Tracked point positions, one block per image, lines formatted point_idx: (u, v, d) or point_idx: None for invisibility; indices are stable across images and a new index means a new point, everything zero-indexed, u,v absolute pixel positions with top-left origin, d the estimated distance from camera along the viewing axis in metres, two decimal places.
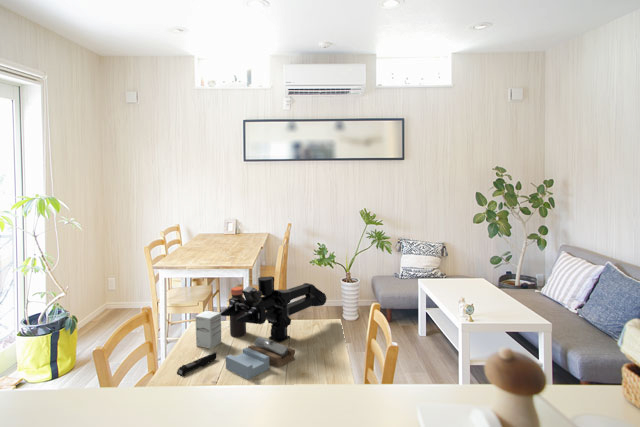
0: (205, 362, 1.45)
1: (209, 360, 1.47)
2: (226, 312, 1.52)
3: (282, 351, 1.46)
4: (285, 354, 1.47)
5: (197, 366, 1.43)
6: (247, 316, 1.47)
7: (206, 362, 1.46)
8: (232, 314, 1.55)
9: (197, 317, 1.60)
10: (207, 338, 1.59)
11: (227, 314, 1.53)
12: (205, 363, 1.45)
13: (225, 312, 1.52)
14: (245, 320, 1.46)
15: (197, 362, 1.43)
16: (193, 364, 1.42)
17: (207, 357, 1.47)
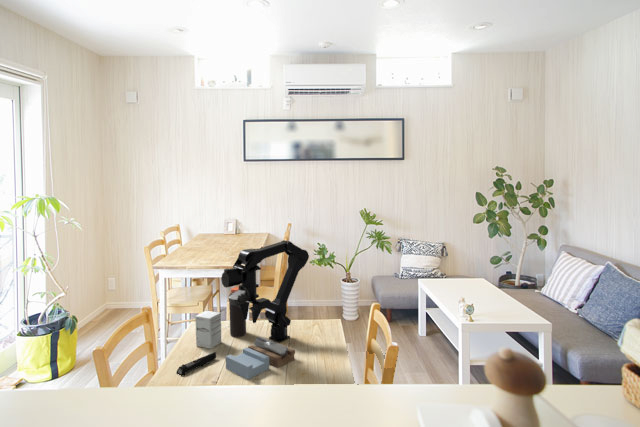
0: (204, 362, 1.45)
1: (209, 360, 1.47)
2: (245, 314, 1.60)
3: (282, 351, 1.46)
4: (285, 354, 1.47)
5: (197, 366, 1.43)
6: (255, 314, 1.55)
7: (206, 362, 1.46)
8: (248, 304, 1.61)
9: (197, 317, 1.60)
10: (207, 338, 1.59)
11: (246, 312, 1.60)
12: (205, 363, 1.45)
13: (244, 315, 1.59)
14: (257, 315, 1.56)
15: (197, 362, 1.44)
16: (193, 364, 1.42)
17: (207, 357, 1.47)
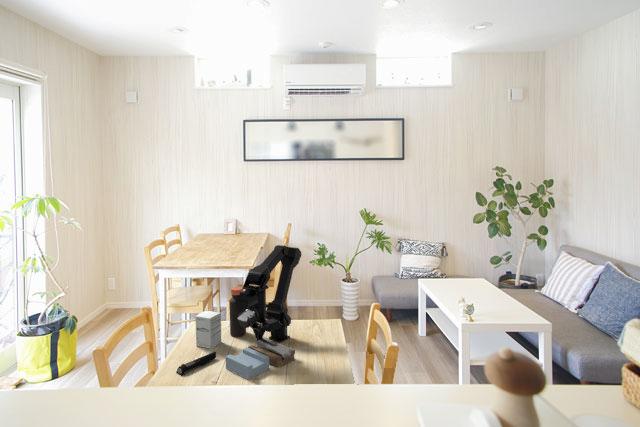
0: (204, 361, 1.46)
1: (209, 359, 1.47)
2: None
3: (285, 352, 1.45)
4: (288, 355, 1.46)
5: (197, 365, 1.43)
6: (260, 333, 1.54)
7: (206, 361, 1.46)
8: None
9: (197, 317, 1.60)
10: (207, 338, 1.59)
11: None
12: (205, 362, 1.45)
13: None
14: (262, 334, 1.55)
15: (197, 361, 1.44)
16: (193, 363, 1.42)
17: (207, 356, 1.47)
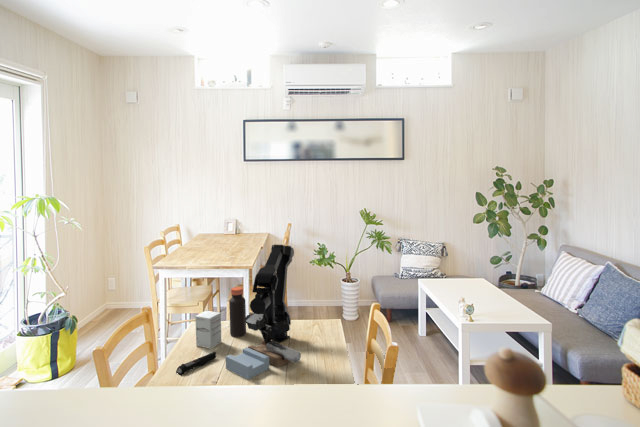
0: (204, 361, 1.46)
1: (208, 359, 1.47)
2: None
3: (294, 356, 1.42)
4: (297, 359, 1.43)
5: (196, 365, 1.43)
6: (268, 336, 1.51)
7: (205, 361, 1.46)
8: None
9: (197, 317, 1.60)
10: (207, 338, 1.59)
11: None
12: (204, 362, 1.46)
13: None
14: (271, 337, 1.52)
15: (196, 361, 1.44)
16: (192, 363, 1.43)
17: (206, 356, 1.47)
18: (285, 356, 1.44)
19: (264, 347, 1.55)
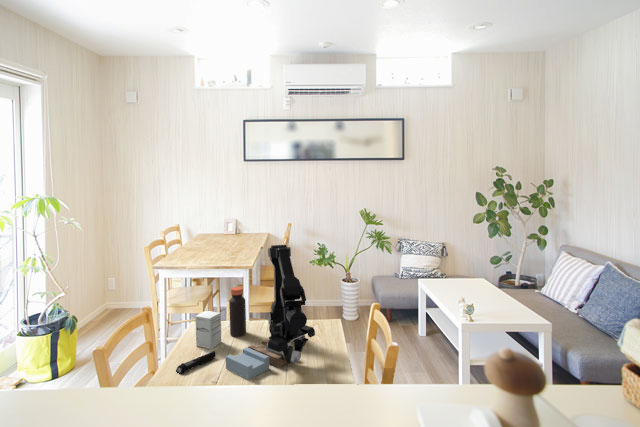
0: (204, 361, 1.46)
1: (208, 359, 1.48)
2: None
3: (294, 356, 1.42)
4: (297, 359, 1.43)
5: (196, 364, 1.44)
6: (284, 353, 1.42)
7: (205, 361, 1.47)
8: (301, 344, 1.44)
9: (197, 317, 1.60)
10: (207, 338, 1.59)
11: None
12: (204, 362, 1.46)
13: None
14: (287, 356, 1.41)
15: (196, 361, 1.44)
16: (192, 362, 1.43)
17: (206, 356, 1.48)
18: None
19: (264, 347, 1.55)
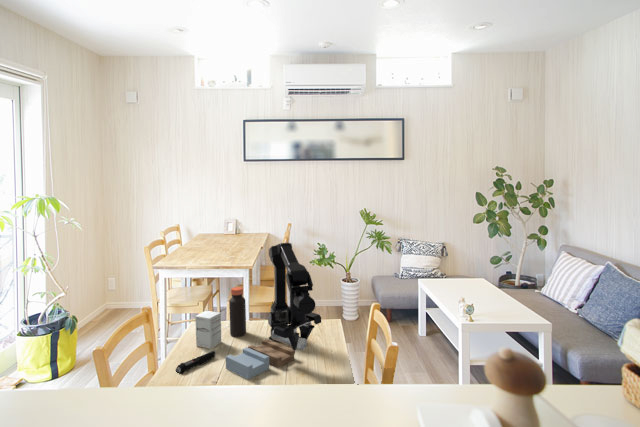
0: (203, 360, 1.46)
1: (207, 358, 1.48)
2: None
3: (300, 343, 1.39)
4: (304, 346, 1.41)
5: (195, 364, 1.44)
6: (290, 339, 1.39)
7: (204, 360, 1.47)
8: (307, 331, 1.42)
9: (197, 317, 1.60)
10: (207, 338, 1.59)
11: None
12: (203, 361, 1.46)
13: None
14: (293, 343, 1.39)
15: (195, 360, 1.45)
16: (191, 362, 1.43)
17: (205, 355, 1.48)
18: None
19: (264, 347, 1.55)
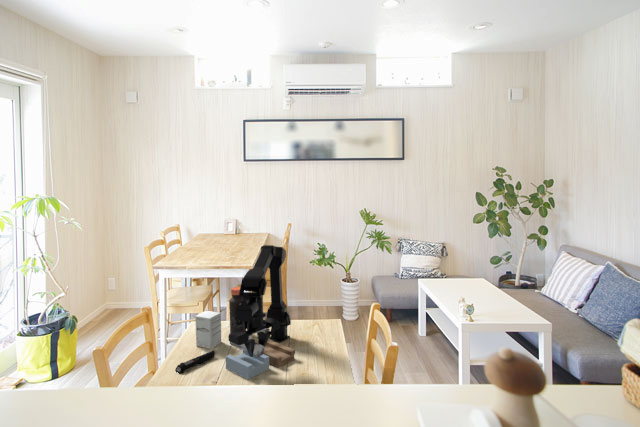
0: (203, 360, 1.47)
1: (207, 358, 1.48)
2: None
3: (257, 350, 1.37)
4: (260, 353, 1.38)
5: (195, 364, 1.44)
6: (247, 346, 1.37)
7: (204, 360, 1.47)
8: (264, 338, 1.39)
9: (197, 317, 1.60)
10: (207, 338, 1.59)
11: None
12: (203, 361, 1.47)
13: None
14: (249, 350, 1.36)
15: (195, 360, 1.45)
16: (191, 362, 1.44)
17: (205, 355, 1.48)
18: None
19: (264, 347, 1.55)
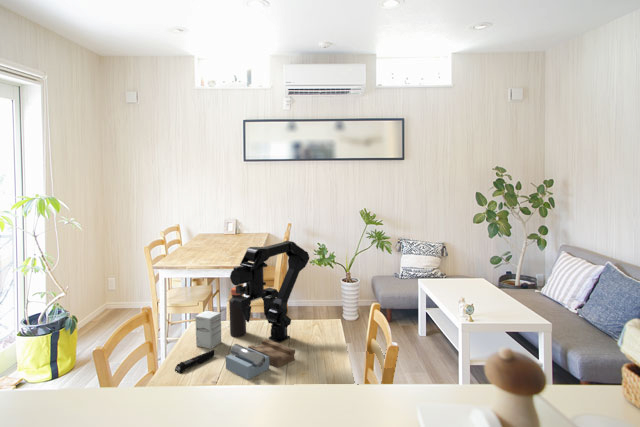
0: (202, 359, 1.47)
1: (207, 357, 1.49)
2: (265, 309, 1.61)
3: (258, 360, 1.37)
4: (261, 363, 1.38)
5: (195, 363, 1.45)
6: (244, 312, 1.54)
7: (204, 359, 1.48)
8: (269, 302, 1.60)
9: (197, 317, 1.60)
10: (207, 338, 1.59)
11: (267, 309, 1.61)
12: (203, 360, 1.47)
13: (264, 310, 1.62)
14: (246, 315, 1.53)
15: (195, 359, 1.45)
16: (191, 361, 1.44)
17: (205, 354, 1.49)
18: (249, 359, 1.39)
19: (264, 347, 1.55)
